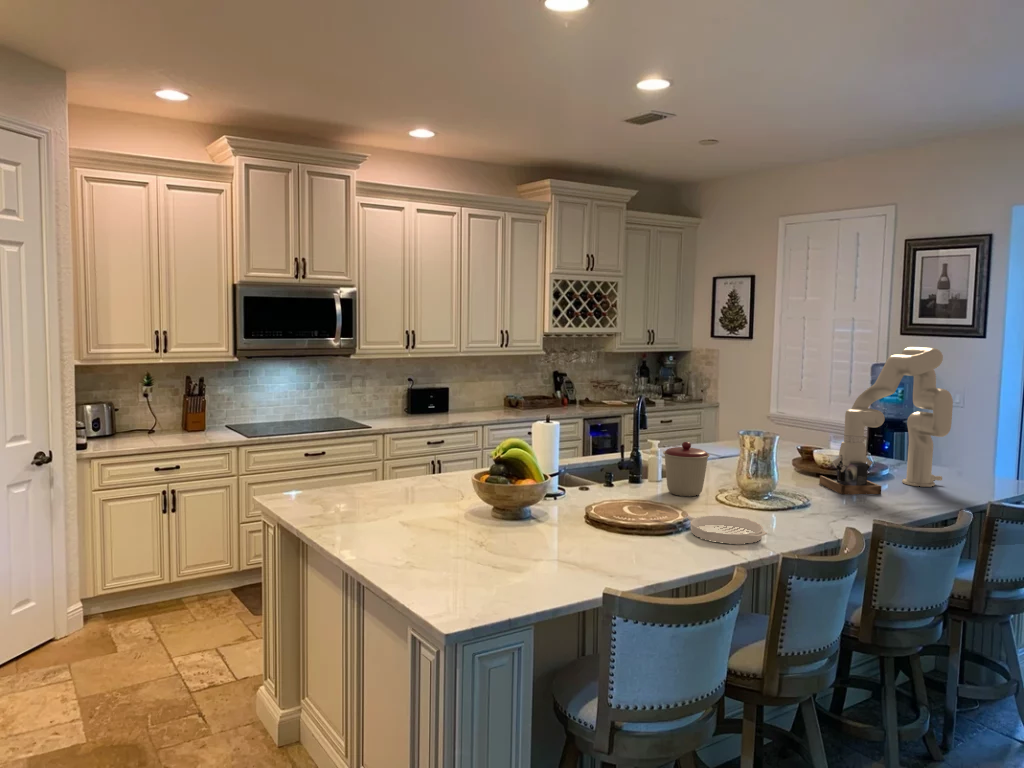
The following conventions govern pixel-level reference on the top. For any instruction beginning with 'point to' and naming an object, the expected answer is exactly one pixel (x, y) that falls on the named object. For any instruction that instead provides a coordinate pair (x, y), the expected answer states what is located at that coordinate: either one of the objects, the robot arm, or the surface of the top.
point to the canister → (685, 469)
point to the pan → (726, 522)
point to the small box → (854, 474)
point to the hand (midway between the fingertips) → (851, 480)
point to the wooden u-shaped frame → (850, 487)
